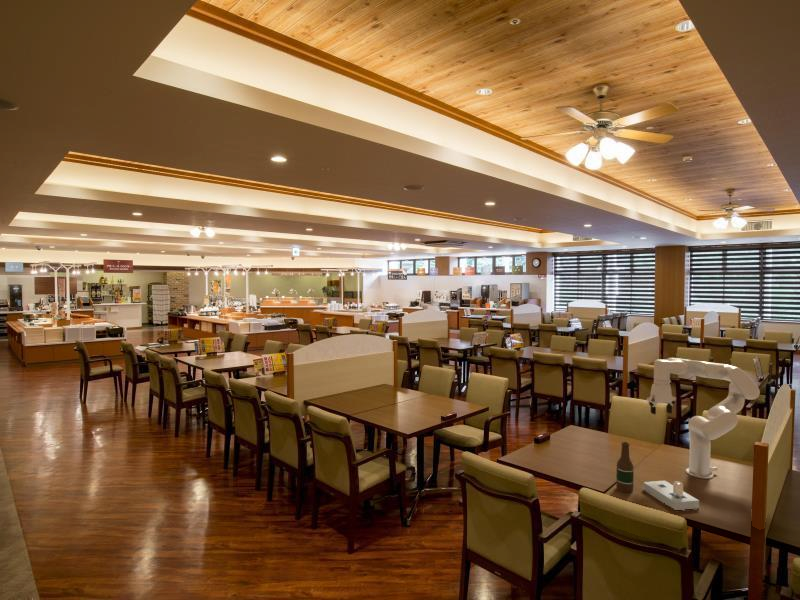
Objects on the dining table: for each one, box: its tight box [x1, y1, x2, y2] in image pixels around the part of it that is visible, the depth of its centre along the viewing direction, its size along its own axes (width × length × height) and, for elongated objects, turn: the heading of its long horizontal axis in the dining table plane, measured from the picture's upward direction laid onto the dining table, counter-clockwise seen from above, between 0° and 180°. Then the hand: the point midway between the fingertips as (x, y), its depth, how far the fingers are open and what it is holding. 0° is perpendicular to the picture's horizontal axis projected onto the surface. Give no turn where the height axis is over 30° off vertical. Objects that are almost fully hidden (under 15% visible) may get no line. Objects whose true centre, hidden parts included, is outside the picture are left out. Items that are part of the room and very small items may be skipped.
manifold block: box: [642, 480, 700, 511], centre depth 224 cm, size 12×22×4 cm, turn 9°
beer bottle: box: [615, 441, 635, 494], centre depth 235 cm, size 8×8×24 cm
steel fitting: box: [672, 480, 684, 499], centre depth 219 cm, size 4×4×10 cm
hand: (661, 413), depth 254 cm, fingers open, 9 cm apart
